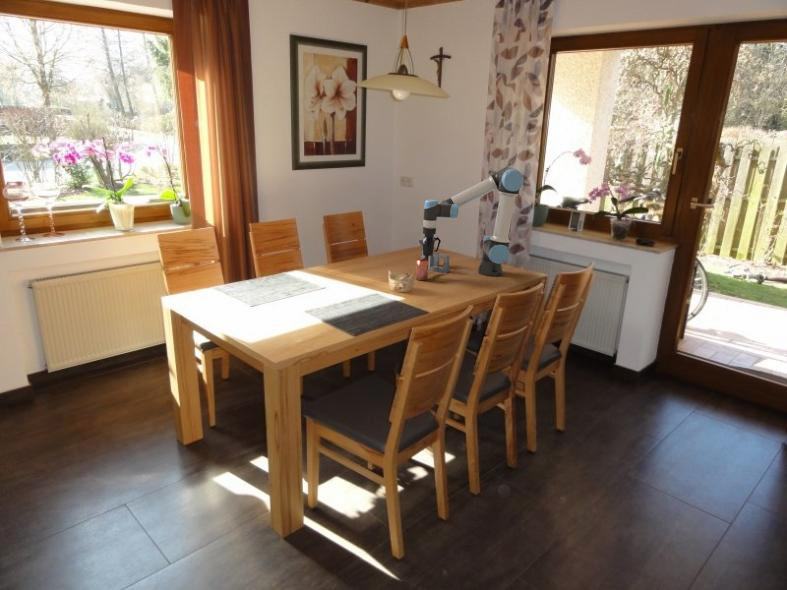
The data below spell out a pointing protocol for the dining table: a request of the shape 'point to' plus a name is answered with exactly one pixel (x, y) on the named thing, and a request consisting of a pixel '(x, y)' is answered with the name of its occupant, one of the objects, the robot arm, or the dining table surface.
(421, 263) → the copper container
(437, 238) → the moka pot
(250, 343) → the dining table surface
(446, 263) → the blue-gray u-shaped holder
